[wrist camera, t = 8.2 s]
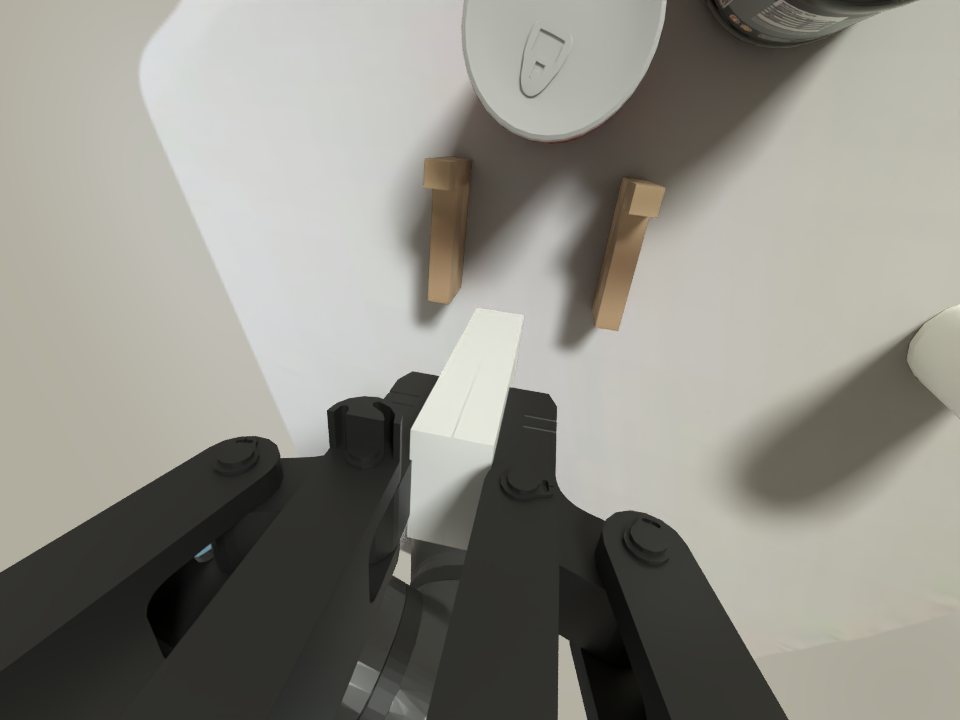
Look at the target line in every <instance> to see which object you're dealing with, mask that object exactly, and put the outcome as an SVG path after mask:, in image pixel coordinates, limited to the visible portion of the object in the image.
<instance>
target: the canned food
mask: <svg viewBox="0 0 960 720" xmlns="http://www.w3.org/2000/svg"><path fill="white" fill-rule="evenodd" d="M666 3H667V0H464V6H463V16H462V26H461V27H462V46H463V54H464V59H465V64H466V68H467V73H468V75H469V78H470V80H471V83H472V85H473V88H474V90H475V92H476V95H477V96H478V98H479V99H480V101H481V103H482V104H483V106H484V107H485V109H486V111H487V112H488V113H489V114H490V115H491V116H492V117H493V118H494V119H495V120H496V121H497V122H498V123H499V124H500V125H501V126H503V127H504V128H506V129H507V130H509V131H510V132H512V133H513V134H515V135H517V136H520V137H523V138H525V139H528V140H531V141H536V142H544V143H562V142H567V141H570V140H574V139H577V138H579V137H581V136H583V135H585V134H587V133H589V132H590V131H592V130H594V129H596V128H598V127H599V126H601V125H602V124H603V123H604V122H605V121H607V120H608V119H609V118H610V117H612V116H613V115H614V114H615V113H616V112H617V111H618V110H619V109H620V108H621V107H622V106H623V105H624V103H625V102H626V101H627V100H628V99H629V98H630V97H631V96H632V94H633V93H634V91H635V90H636V88H637V87H638V85H639V84H640V82H641V80H642V79H643V77H644V76H645V74H646V72H647V70H648V67H649V65H650V63H651V61H652V59H653V56H654V54H655V52H656V49H657V46H658V42H659V39H660V35H661V32H662V28H663V24H664V20H665V11H666Z"/></svg>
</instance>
